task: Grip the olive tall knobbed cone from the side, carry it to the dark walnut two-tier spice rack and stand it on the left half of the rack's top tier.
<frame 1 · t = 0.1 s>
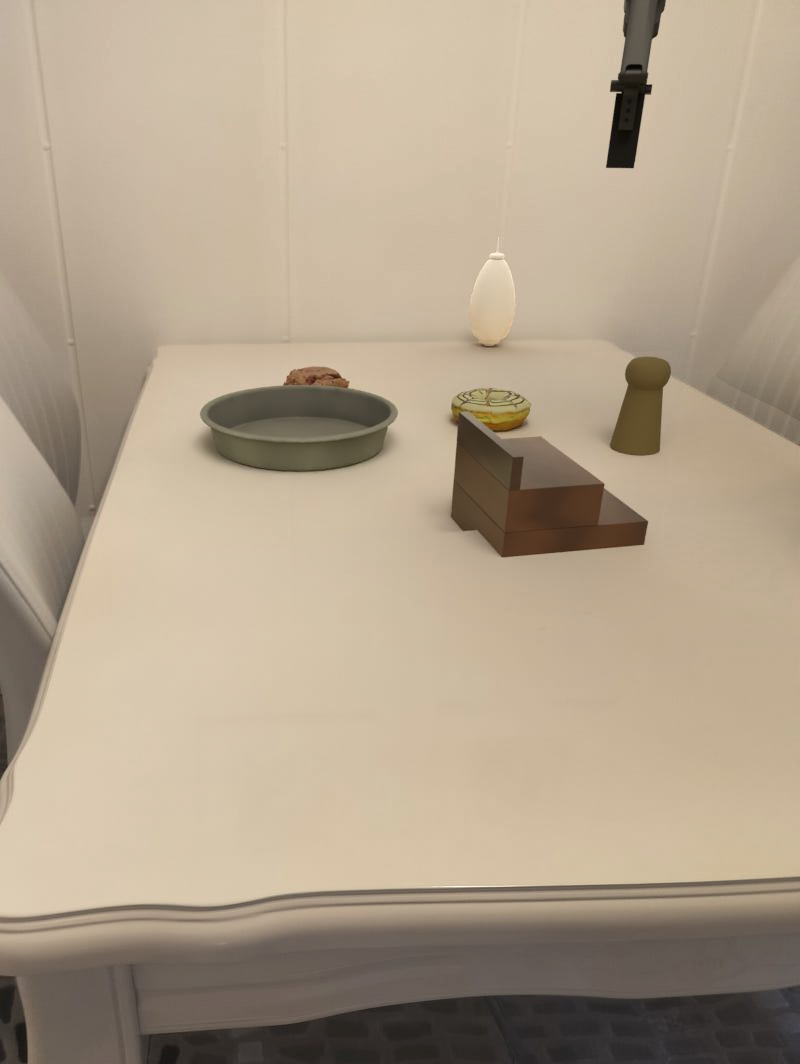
hand: (621, 165, 98), 32 cm above the table, tool pointing down, fingers open, 13 cm apart
olive tall knobbed cone: (634, 448, 115), on the table
cake pan: (299, 444, 117), on the table
cookie: (314, 391, 139), on the table
spice rack: (540, 537, 91), on the table
decorated donut: (489, 423, 125), on the table
sauce bottle: (488, 346, 166), on the table
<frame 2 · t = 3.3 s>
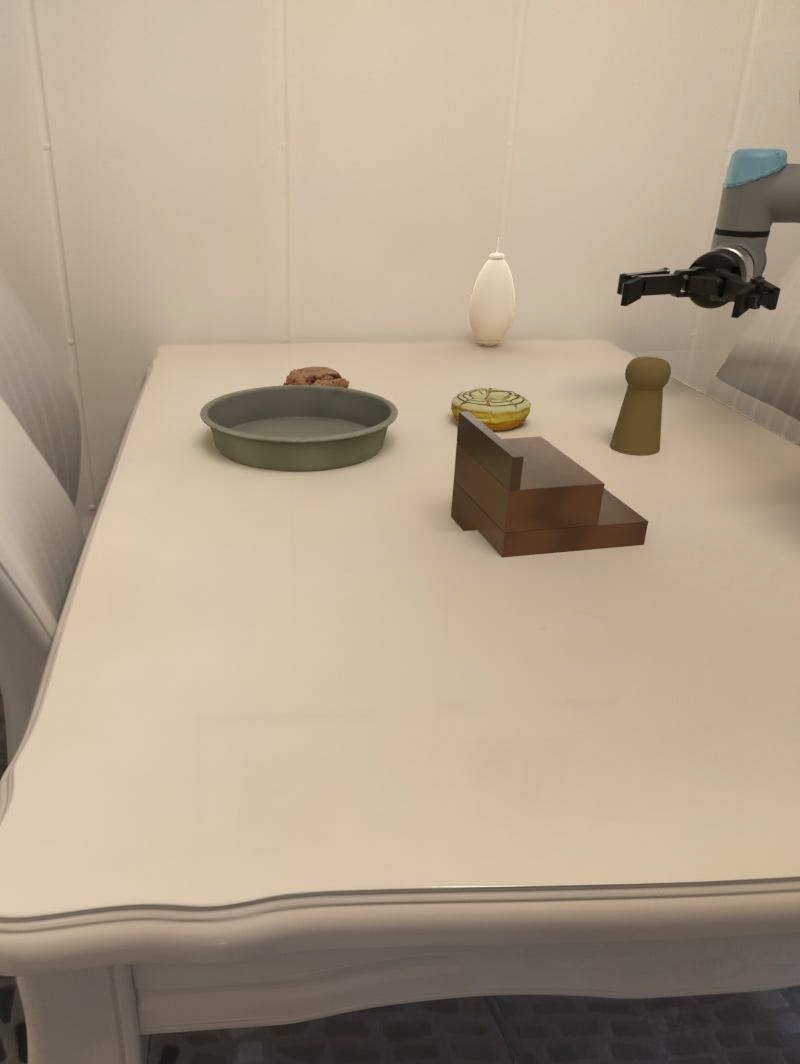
hand: (679, 300, 114), 16 cm above the table, tool horizontal, fingers open, 13 cm apart
nothing on the table moved.
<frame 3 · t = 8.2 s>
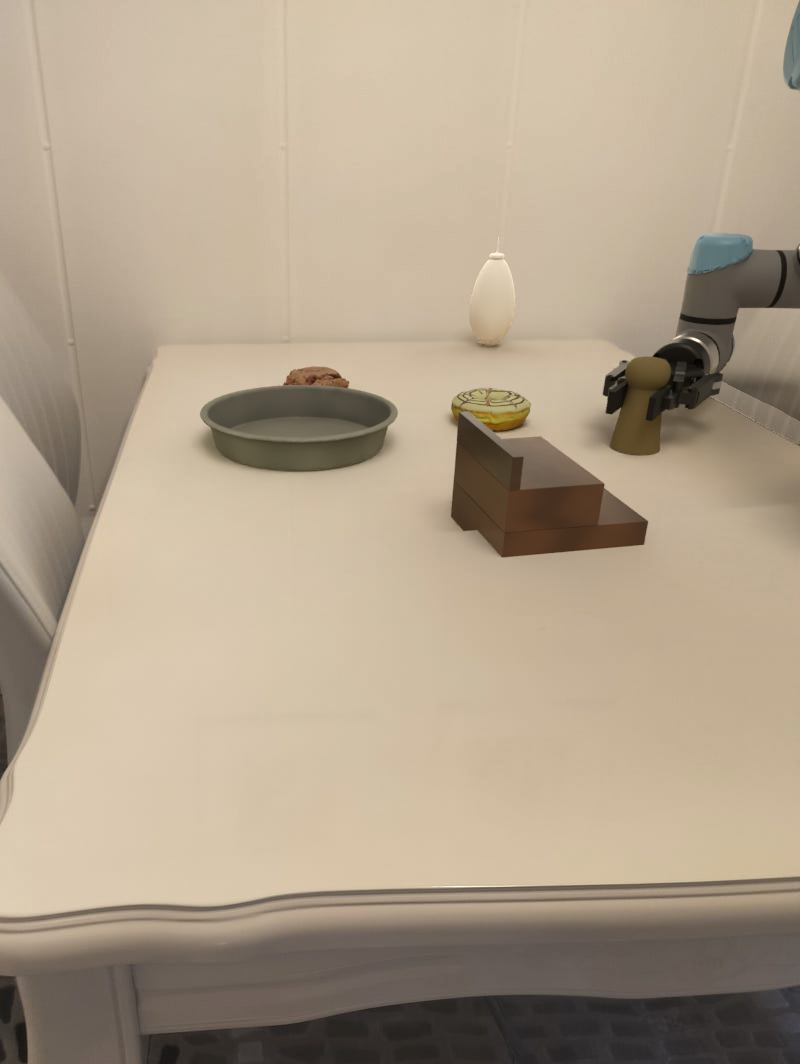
hand: (630, 405, 108), 7 cm above the table, tool horizontal, fingers closed on olive tall knobbed cone, 4 cm apart
olive tall knobbed cone: (634, 448, 115), on the table, touching gripper
everything else where it was.
when the fingers open (14 cm above the table, at t = 17.8 s): olive tall knobbed cone stays where it is, resting on spice rack.
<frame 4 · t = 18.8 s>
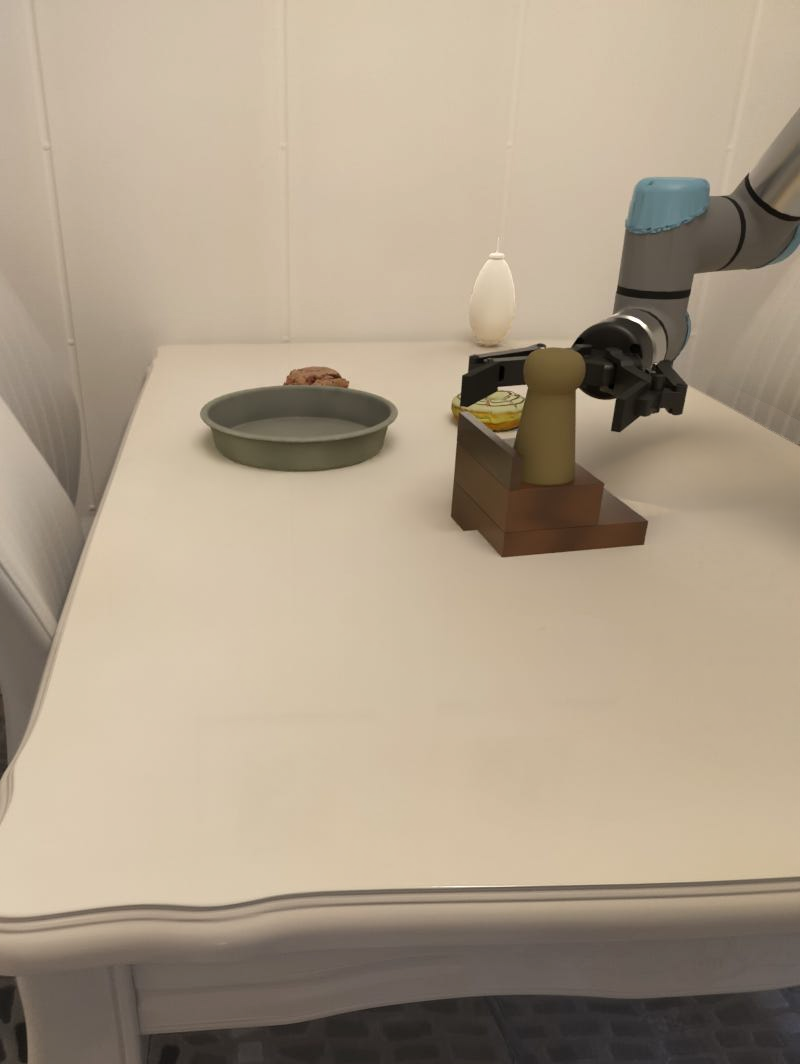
hand: (538, 403, 77), 15 cm above the table, tool horizontal, fingers open, 13 cm apart
olive tall knobbed cone: (540, 475, 84), point 8 cm above the table, touching spice rack
everything else where it was.
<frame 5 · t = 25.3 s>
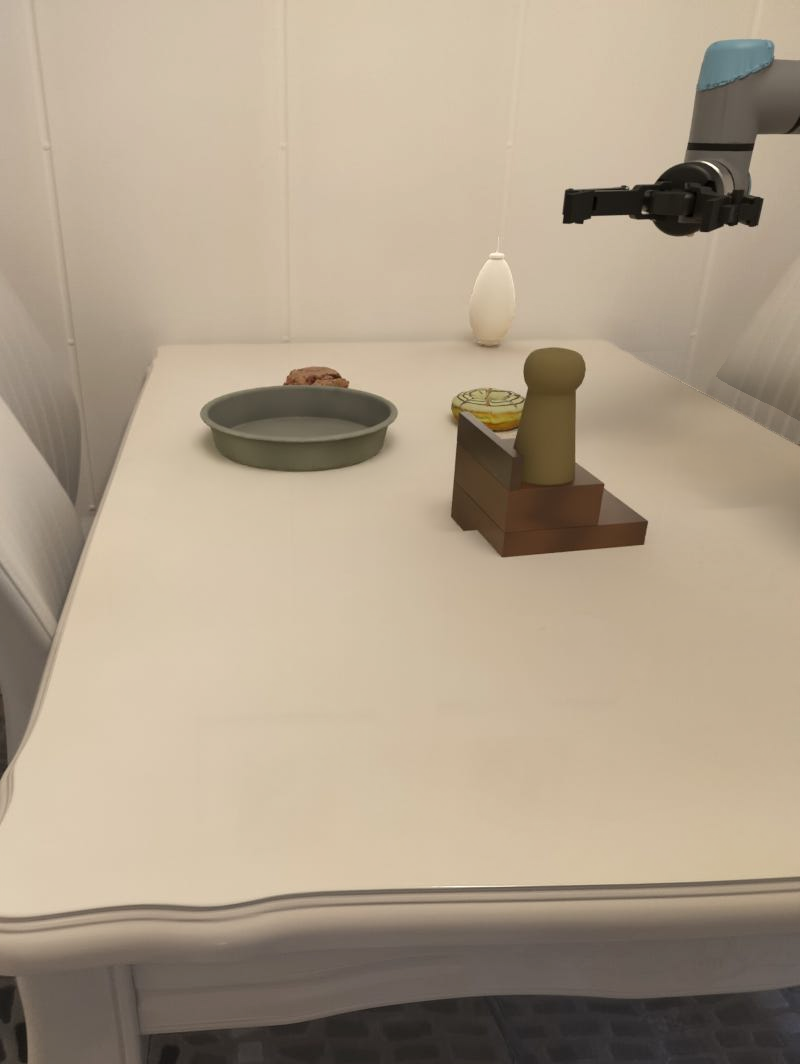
hand: (634, 212, 90), 28 cm above the table, tool horizontal, fingers open, 13 cm apart
nothing on the table moved.
at the end: olive tall knobbed cone inside the target area on the spice rack (0.4 cm from its centre), point 7.8 cm above the spice rack's base; olive tall knobbed cone tilted 0°; the gripper is holding nothing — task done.
